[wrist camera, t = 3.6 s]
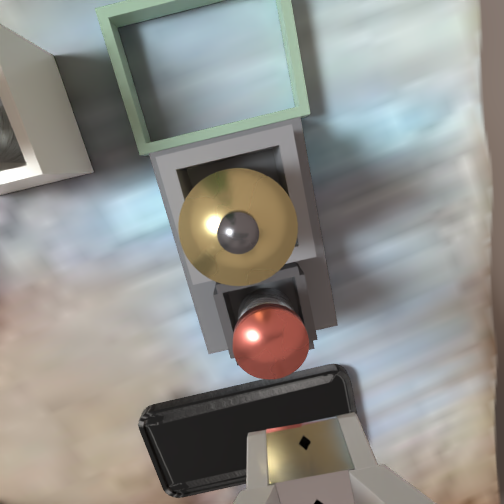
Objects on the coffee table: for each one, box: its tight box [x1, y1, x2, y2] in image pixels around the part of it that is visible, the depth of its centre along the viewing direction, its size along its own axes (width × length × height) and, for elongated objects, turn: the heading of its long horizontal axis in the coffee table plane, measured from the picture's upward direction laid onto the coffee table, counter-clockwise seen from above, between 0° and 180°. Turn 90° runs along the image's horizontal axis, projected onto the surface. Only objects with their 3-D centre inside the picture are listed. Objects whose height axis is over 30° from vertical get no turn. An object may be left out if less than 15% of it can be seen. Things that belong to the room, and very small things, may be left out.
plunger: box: [233, 288, 309, 379], centre depth 16 cm, size 3×3×3 cm
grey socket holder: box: [149, 117, 338, 365], centre depth 18 cm, size 12×8×5 cm, turn 13°
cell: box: [178, 168, 298, 286], centre depth 13 cm, size 4×4×9 cm
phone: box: [138, 364, 357, 498], centre depth 24 cm, size 8×1×15 cm
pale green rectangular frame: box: [95, 0, 310, 156], centre depth 17 cm, size 7×9×1 cm
